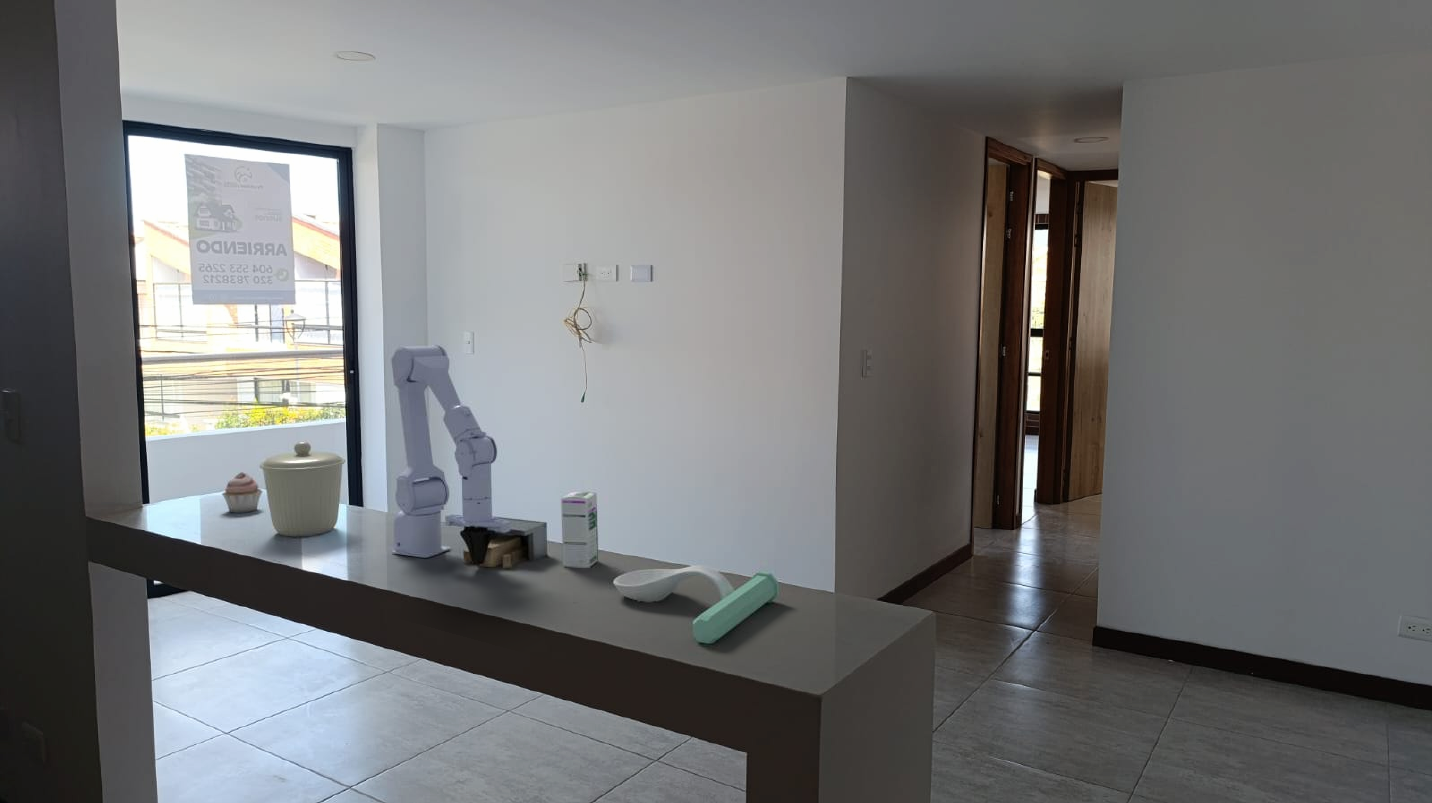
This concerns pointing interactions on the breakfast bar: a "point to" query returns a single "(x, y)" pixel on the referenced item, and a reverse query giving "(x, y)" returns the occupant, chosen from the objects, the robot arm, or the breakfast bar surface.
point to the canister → (303, 490)
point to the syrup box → (579, 529)
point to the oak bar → (500, 549)
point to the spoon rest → (666, 582)
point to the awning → (522, 541)
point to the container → (735, 607)
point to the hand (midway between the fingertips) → (478, 563)
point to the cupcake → (242, 494)
